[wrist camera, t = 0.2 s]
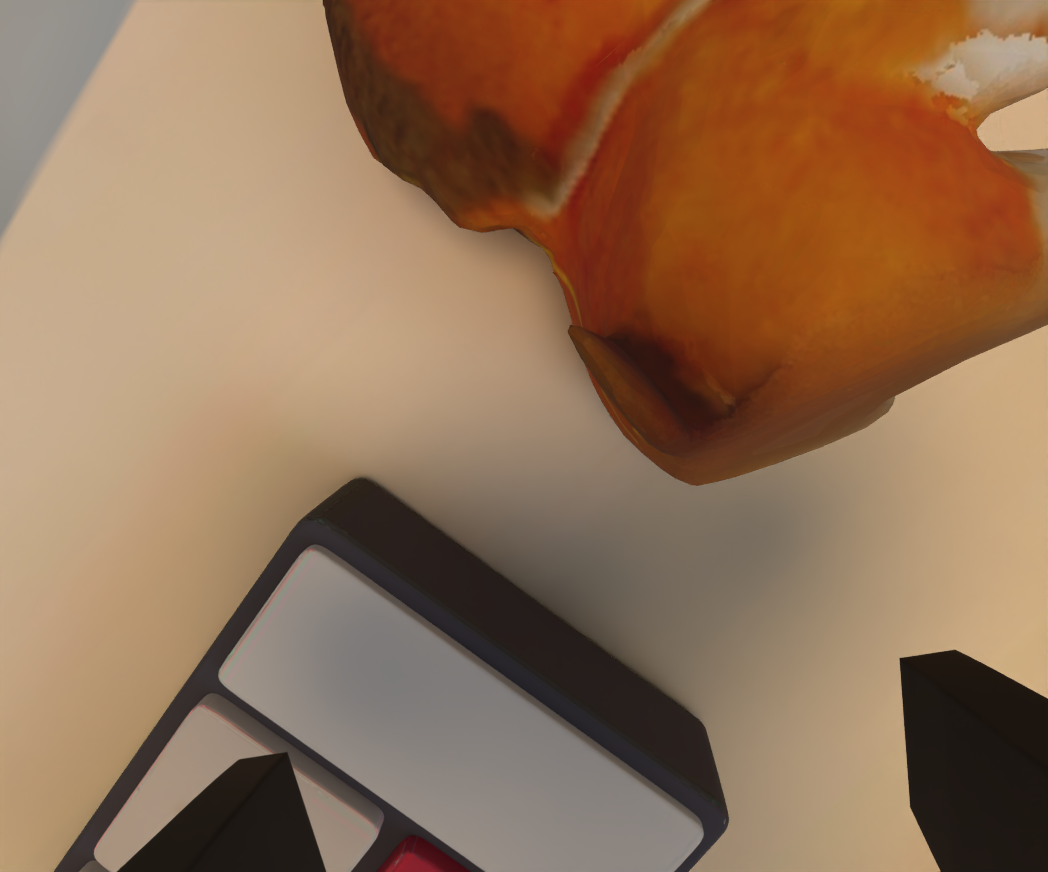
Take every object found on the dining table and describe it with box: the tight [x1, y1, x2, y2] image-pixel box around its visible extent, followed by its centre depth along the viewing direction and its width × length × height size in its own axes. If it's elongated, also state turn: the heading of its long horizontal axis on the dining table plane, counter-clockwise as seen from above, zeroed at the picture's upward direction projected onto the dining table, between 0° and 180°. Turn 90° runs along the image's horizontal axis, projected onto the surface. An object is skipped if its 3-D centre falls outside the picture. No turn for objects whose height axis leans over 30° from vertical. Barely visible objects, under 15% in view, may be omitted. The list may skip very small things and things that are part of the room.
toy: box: [323, 0, 1048, 486], centre depth 15 cm, size 11×9×15 cm
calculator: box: [54, 478, 729, 872], centre depth 19 cm, size 11×4×15 cm
